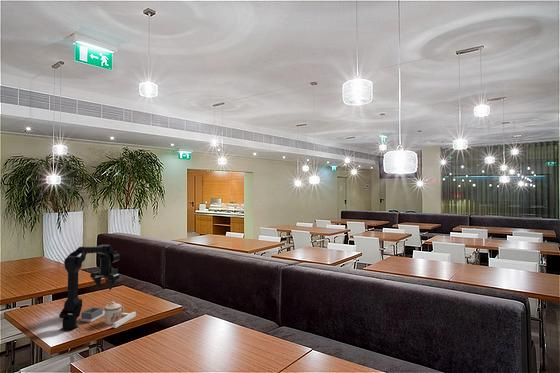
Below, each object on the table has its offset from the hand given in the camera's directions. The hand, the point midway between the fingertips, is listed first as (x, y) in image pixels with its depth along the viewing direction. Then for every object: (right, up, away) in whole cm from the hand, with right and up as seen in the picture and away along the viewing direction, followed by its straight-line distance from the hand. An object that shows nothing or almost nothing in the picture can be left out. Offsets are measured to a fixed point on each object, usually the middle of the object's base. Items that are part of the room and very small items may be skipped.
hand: (104, 289), depth 210 cm
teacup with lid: (+14, -14, -15) cm, 25 cm away
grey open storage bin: (+8, -14, -14) cm, 21 cm away
